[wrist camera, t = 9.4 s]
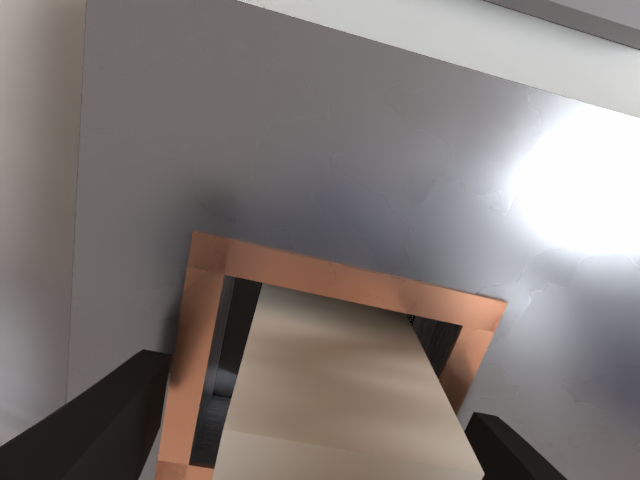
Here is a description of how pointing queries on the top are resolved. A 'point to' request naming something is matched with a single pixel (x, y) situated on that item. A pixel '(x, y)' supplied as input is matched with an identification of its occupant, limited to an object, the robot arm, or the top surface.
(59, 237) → the top surface
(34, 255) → the top surface
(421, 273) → the hole plate
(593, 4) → the gray square plate
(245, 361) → the peg
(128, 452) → the robot arm
